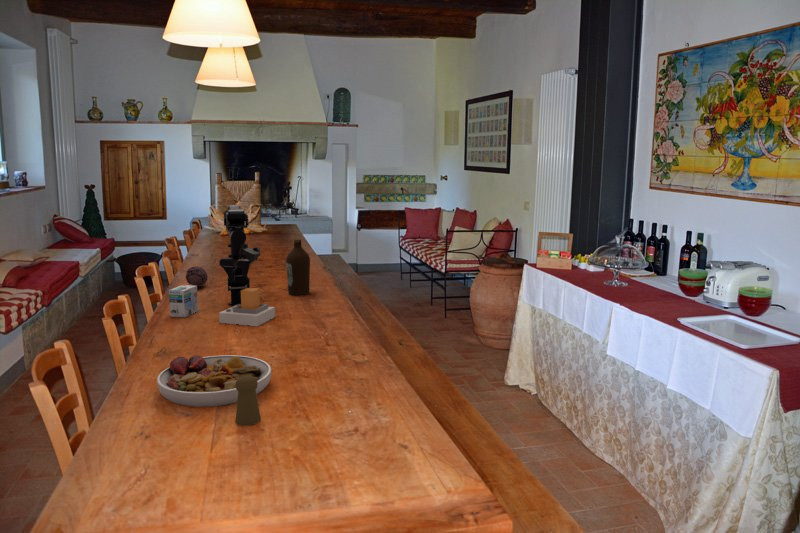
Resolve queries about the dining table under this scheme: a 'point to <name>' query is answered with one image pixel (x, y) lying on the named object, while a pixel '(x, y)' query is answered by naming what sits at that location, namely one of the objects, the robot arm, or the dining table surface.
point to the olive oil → (298, 270)
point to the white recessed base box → (247, 315)
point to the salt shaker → (247, 401)
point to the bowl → (210, 379)
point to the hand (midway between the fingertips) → (239, 280)
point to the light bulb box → (183, 301)
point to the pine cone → (196, 276)
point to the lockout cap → (250, 298)
